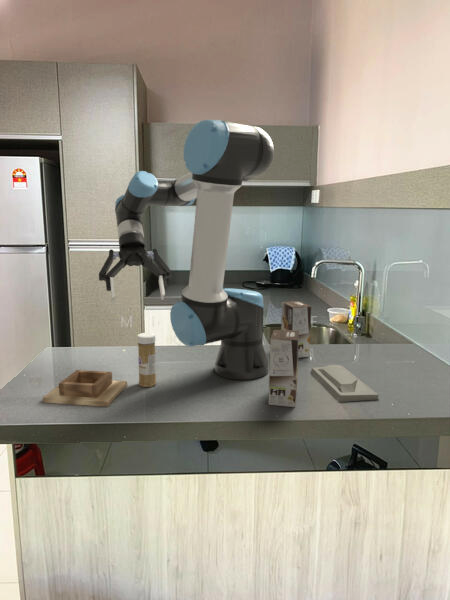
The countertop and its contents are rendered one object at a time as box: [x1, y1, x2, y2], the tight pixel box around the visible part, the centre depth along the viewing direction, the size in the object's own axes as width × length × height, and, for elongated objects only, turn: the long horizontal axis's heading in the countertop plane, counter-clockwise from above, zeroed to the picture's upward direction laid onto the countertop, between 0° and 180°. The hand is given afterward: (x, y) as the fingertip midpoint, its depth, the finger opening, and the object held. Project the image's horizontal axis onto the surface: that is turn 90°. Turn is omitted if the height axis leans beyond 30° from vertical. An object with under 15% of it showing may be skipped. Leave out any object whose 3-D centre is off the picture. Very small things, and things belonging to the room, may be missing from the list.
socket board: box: [42, 369, 128, 407], centre depth 113 cm, size 16×13×4 cm
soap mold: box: [310, 364, 379, 403], centre depth 119 cm, size 10×20×4 cm, turn 9°
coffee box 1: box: [280, 300, 312, 359], centre depth 144 cm, size 9×6×16 cm
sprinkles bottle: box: [136, 332, 157, 388], centre depth 118 cm, size 5×5×13 cm
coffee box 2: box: [268, 329, 299, 408], centre depth 109 cm, size 9×6×16 cm
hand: (138, 298), depth 126 cm, fingers open, 13 cm apart
